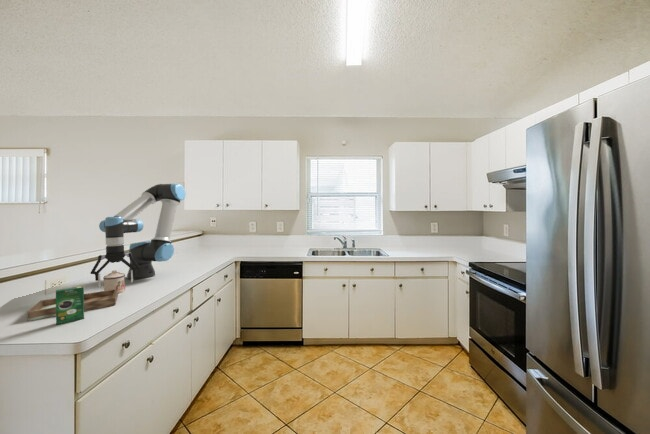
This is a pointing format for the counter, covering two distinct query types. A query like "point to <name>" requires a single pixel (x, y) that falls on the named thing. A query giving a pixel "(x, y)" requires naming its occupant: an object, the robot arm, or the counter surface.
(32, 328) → the counter surface
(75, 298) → the coffee box
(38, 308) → the wooden tray
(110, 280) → the teacup with lid
